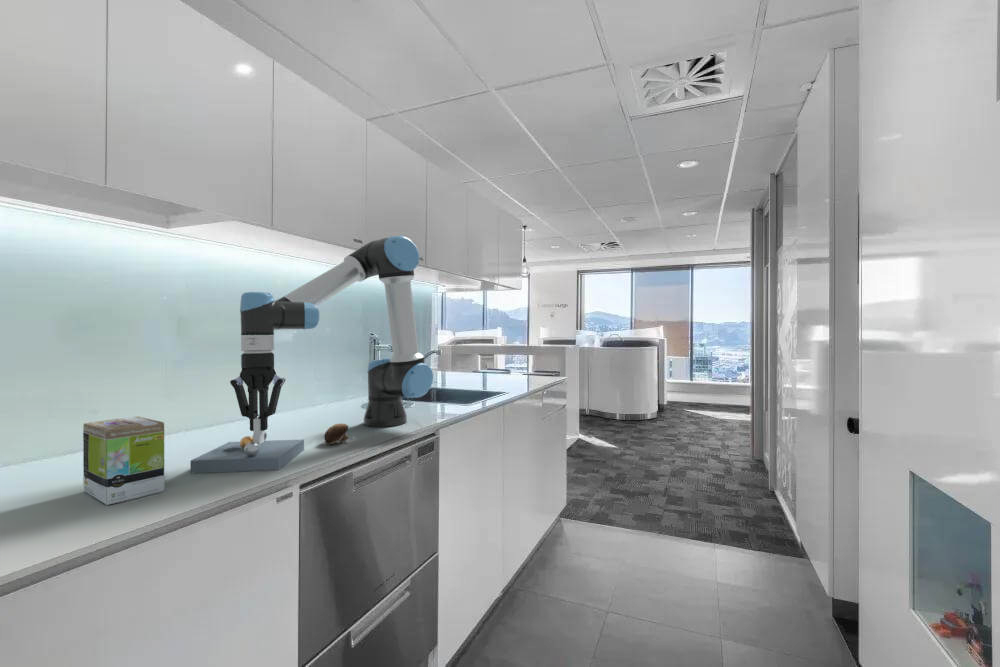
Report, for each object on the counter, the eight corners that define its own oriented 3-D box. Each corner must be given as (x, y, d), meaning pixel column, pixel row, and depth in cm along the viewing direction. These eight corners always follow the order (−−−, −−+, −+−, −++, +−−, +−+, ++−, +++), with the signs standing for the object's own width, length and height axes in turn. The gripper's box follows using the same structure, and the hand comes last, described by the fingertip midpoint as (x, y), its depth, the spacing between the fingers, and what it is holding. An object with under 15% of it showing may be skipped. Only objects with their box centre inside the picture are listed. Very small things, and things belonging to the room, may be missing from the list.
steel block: (268, 440, 124) (268, 428, 124) (263, 443, 121) (263, 431, 121) (256, 441, 124) (255, 429, 124) (250, 444, 121) (250, 431, 121)
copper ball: (243, 448, 117) (257, 447, 117) (237, 451, 114) (251, 450, 114) (243, 435, 117) (257, 434, 117) (237, 438, 114) (251, 437, 114)
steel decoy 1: (262, 454, 111) (262, 440, 111) (256, 457, 108) (255, 443, 108) (247, 454, 111) (247, 440, 111) (241, 458, 107) (241, 444, 107)
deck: (304, 450, 126) (303, 439, 126) (278, 469, 108) (278, 457, 108) (229, 452, 124) (228, 441, 124) (190, 473, 106) (190, 460, 106)
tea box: (167, 491, 94) (165, 421, 94) (105, 507, 86) (104, 430, 86) (140, 478, 103) (139, 414, 103) (81, 492, 94) (80, 422, 94)
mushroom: (359, 429, 137) (346, 414, 135) (349, 445, 130) (334, 429, 128) (340, 440, 139) (327, 425, 137) (329, 456, 132) (314, 441, 130)
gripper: (223, 353, 111) (224, 447, 111) (278, 352, 113) (279, 446, 113) (238, 351, 119) (239, 440, 119) (289, 351, 120) (290, 438, 120)
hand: (258, 443), depth 116 cm, fingers closed
